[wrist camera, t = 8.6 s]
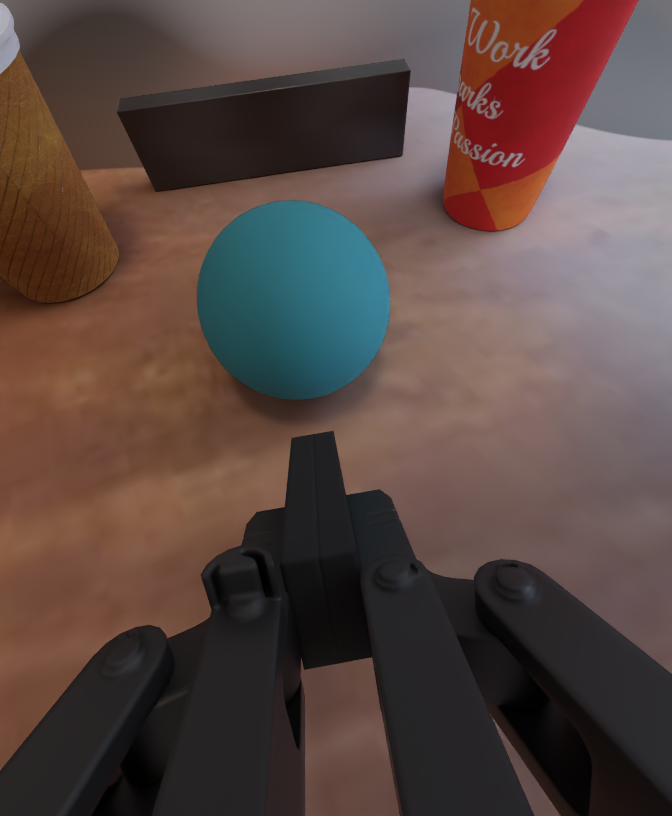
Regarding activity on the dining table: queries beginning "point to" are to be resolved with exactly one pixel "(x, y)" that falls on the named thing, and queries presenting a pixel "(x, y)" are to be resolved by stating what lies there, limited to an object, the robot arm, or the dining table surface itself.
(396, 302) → the dining table surface
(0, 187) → the disposable coffee cup
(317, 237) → the ball
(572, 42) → the paper cup
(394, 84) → the block
